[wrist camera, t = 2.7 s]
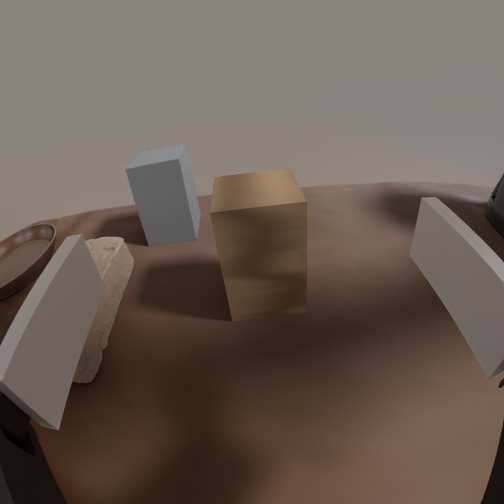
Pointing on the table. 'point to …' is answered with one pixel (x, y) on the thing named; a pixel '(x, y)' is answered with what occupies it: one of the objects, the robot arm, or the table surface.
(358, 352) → the table surface
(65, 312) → the robot arm
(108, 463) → the table surface
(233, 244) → the walnut block
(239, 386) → the table surface
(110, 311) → the brick
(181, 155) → the slate block
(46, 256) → the plant saucer
